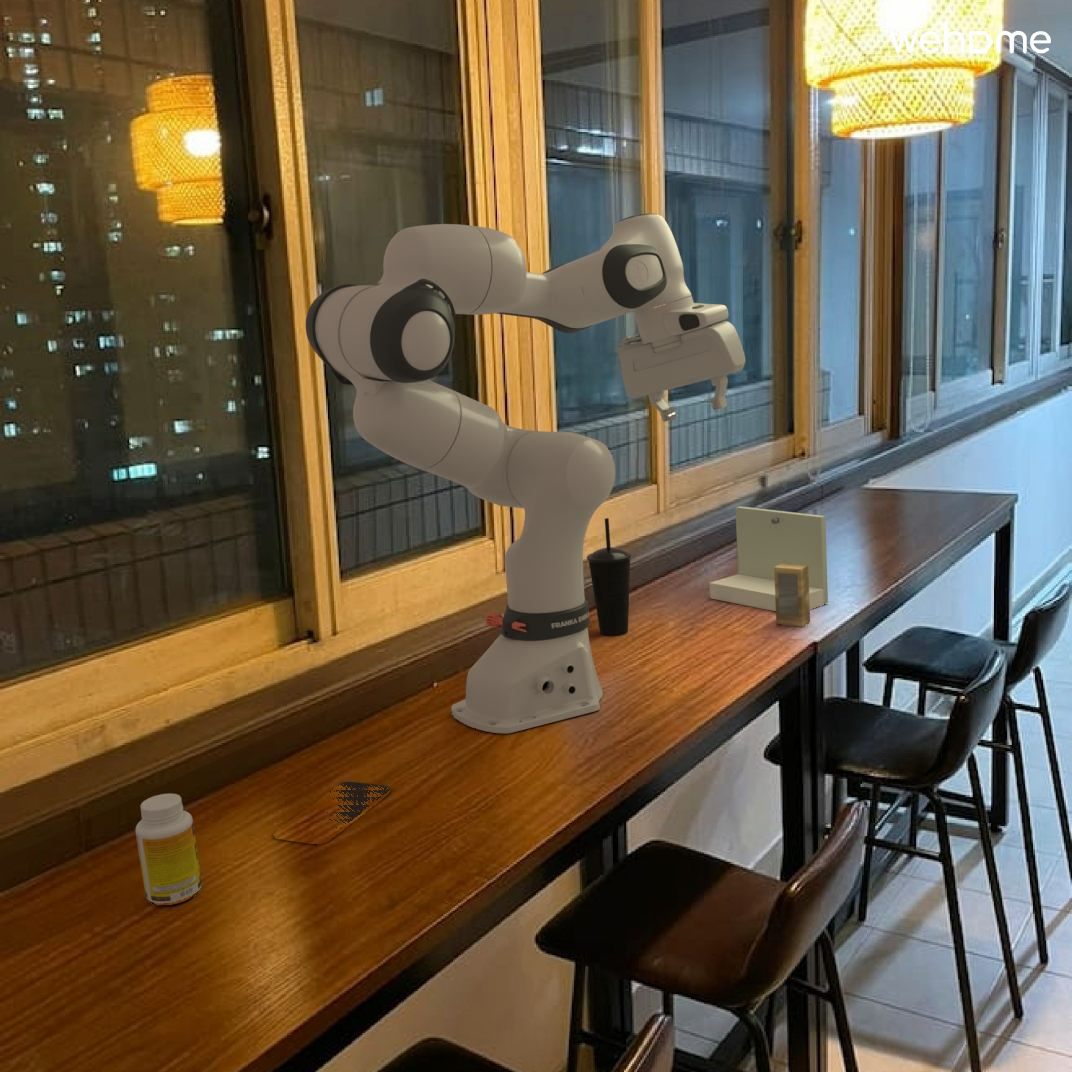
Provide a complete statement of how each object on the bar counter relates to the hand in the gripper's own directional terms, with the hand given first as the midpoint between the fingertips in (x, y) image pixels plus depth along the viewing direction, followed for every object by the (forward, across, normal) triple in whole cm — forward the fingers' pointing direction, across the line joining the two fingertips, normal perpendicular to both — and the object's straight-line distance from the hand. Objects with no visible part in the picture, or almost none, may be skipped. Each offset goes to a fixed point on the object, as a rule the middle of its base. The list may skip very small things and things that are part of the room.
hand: (694, 414), depth 170 cm
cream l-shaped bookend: (+40, -17, +29) cm, 52 cm away
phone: (+28, -13, -72) cm, 79 cm away
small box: (+41, -6, +19) cm, 45 cm away
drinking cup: (+34, -30, +1) cm, 45 cm away
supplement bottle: (+25, -12, -94) cm, 98 cm away
